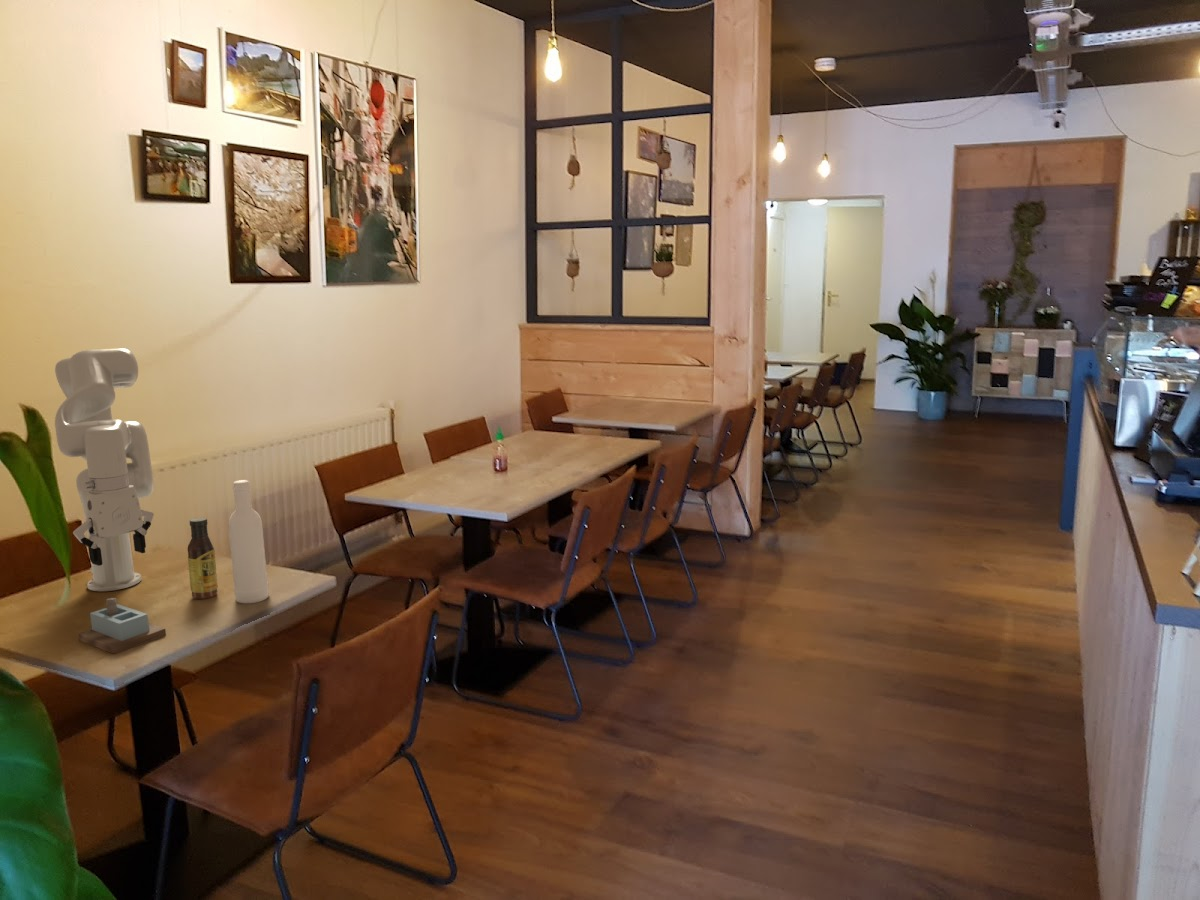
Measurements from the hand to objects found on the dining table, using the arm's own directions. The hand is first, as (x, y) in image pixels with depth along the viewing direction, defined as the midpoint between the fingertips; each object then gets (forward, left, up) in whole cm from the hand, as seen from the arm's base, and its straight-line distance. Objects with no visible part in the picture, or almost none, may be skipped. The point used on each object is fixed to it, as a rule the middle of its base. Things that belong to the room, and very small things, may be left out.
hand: (119, 558), depth 202 cm
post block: (-1, -1, -19) cm, 19 cm away
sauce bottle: (-9, +25, -19) cm, 33 cm away
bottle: (+3, +30, -19) cm, 36 cm away
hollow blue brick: (-2, -1, -17) cm, 17 cm away
